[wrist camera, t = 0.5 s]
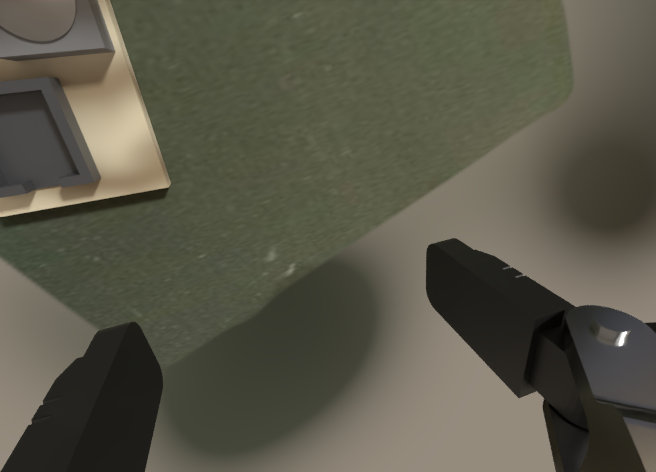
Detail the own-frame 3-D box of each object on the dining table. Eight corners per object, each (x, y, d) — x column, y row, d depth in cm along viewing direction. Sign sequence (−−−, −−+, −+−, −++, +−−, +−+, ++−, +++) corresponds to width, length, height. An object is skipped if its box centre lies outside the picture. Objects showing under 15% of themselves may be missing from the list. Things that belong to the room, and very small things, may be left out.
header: (-56, 89, 24) (-75, 89, 22) (58, 77, 26) (47, 76, 24) (4, 193, 27) (-9, 199, 26) (101, 177, 29) (94, 182, 28)
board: (-155, -74, 21) (-238, -110, 17) (83, -78, 24) (56, -110, 20) (10, 211, 29) (-21, 228, 26) (171, 183, 32) (163, 194, 28)
